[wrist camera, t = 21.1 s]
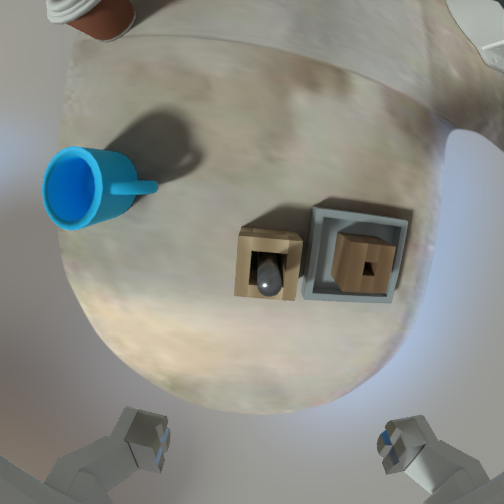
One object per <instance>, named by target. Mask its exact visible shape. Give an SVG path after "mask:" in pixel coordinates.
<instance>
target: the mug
mask: <svg viewBox="0 0 504 504" xmlns="http://www.w3.org/2000/svg"><path fill="white" fill-rule="evenodd" d="M157 190H158V183H157V182H156V181H149V180H138V179H137V173H136V170H135V167H134V165H133V163H132V162H131V161H130V160H129V158H128V157H126V156H125V155H123V154H121V153H120V152H114V151H106V150H99V149H91V148H83V147H74V146H71V147H68V148H65V149H62V150H61V151H60V152H59V153H57V154H56V155H55V156H54V157H53V159H52V160H51V161H50V163H49V164H48V166H47V169H46V171H45V174H44V177H43V185H42V195H43V203H44V206H45V208H46V211H47V213H48V215H49V217H50V218H51V219H52V221H53V222H54V223H56V224H57V225H58V226H59V227H60V228H63V229H66V230H77V229H81V228H84V227H87V226H90V225H93V224H96V223H99V222H102V221H105V220H108V219H112V218H115V217H117V216H119V215H121V214H123V213H125V212H126V211H127V209H128V208H129V207H130V206H131V205H132V203H133V201H134V199H135V197H136V194H152V193H155V192H156V191H157Z"/></svg>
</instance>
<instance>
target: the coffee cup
mask: <svg viewBox="0 0 504 504" xmlns="http://www.w3.org/2000/svg"><path fill="white" fill-rule="evenodd" d="M46 6H47V7H48V8H47V17H48V19H49V20H50V21H51V22H52V23H54V24H65V23H66V24H68V25H70V26H72V27H74V28H76V29H78V30H80V31H82V32H84V33H86V34H88V35H90V36H91V37H93V38H95V39H97V40H98V41H100V42H105V43H106V42H110V41H114V40H116V39H118V38H120V37H122V36H123V35H124V34H125V33H126V32H128V31H129V30H130V28H131V27H132V25H133V24H134V22H135V19H136V12H135V10H134V8H133V7H132V5H131V3H130V2H129V0H47V2H46Z"/></svg>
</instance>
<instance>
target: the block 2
mask: <svg viewBox="0 0 504 504" xmlns="http://www.w3.org/2000/svg"><path fill="white" fill-rule="evenodd" d="M395 249H396V247H395V246H394V245H392V244H390V243H388V242H386V241H384V240H383V239H381V238H379V237H376V236H368V235H360V234H351V233H342V232H337V237H336V244H335V251H334V257H333V263H332V269H331V276H332V278H333V279H334V280H335V282H336V283H337V285H338V286H339V287H340V289H341V290H342V291H344V292H362V293H383V294H386V291H387V287H388V283H389V278H390V274H391V269H392V264H393V260H394V254H395Z"/></svg>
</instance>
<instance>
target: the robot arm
mask: <svg viewBox="0 0 504 504" xmlns="http://www.w3.org/2000/svg"><path fill="white" fill-rule="evenodd" d="M446 1H447V5H448V8H449V10H450V12H451V14H452V16H453V18H454V19H455V21H456V23H457V24H458V25H459V27H460V28H461V30H462V31H463V32H464V34H465V35H466V36H467V37H468V38H469V39H470V41H471V42H472V43H473V44H474V45H475V47H476V48H477V50H478V52H479V53H480V55H481V57H482V59H483V60H484V62H485V63H486V64H487V65H488V66H490V67H492V68H495V69H497V70H499V71H501V72H503V73H504V0H446ZM167 424H168V419H167V416H164V415H160V414H156V413H152V412H147V411H143V410H140V409H136V408H132V407H129V406H127V407H126V408H125V409H124V410H123V412H122V413H121V415H120V417H119V419H118V421H117V423H116V425H115V427H114V429H113V431H112V433H111V435H110V436H104V437H102V438H100V439H98V440H96V441H94V442H92V443H90V444H88V445H86V446H84V447H82V448H80V449H78V450H76V451H73V452H71V453H69V454H67V455H65V456H62V457H60V458H58V459H57V461H56V463H55V465H54V466H53V468H52V470H51V471H50V473H49V475H48V476H47V478H46V480H45V482H44V483H43V482H41V481H40V480H38V479H36V478H35V477H33V476H31V475H30V474H28V473H27V472H25V471H24V470H22V469H21V468H19V467H18V466H16V465H15V464H13V463H12V462H10V461H9V460H8V459H6V458H5V457H3V456H2V455H1V454H0V504H114V502H113V501H112V500H111V499H110V497H109V496H108V495H107V492H108V491H110V490H111V489H113V488H114V487H116V486H117V485H118V484H120V483H121V482H122V481H124V480H125V479H127V478H128V477H129V476H131V475H132V474H133V473H135V472H136V471H137V470H138V468H139V469H143V470H147V471H152V472H156V473H161V471H162V468H163V465H164V461H165V459H164V455H163V454H164V453H166V452H167V451H168V448H169V444H170V429H169V428H168V427H167ZM385 429H386V430H385V431H384V432H383V433H381V434H380V436H379V438H378V441H377V450H378V453H379V455H381V456H382V457H383V458H384V459H383V462H382V464H383V466H384V469H385V472H386V474H392V473H397V472H401V471H405V473H406V474H407V475H409V476H410V477H411V478H412V479H413V480H415V481H416V482H417V483H418V484H419V485H421V486H422V487H423V488H424V489H425V490H427V491H428V492H429V493H430V494H432V495H431V496H430V497H429V498H428V499H426V500H425V501H424V503H423V504H504V472H503V473H501V474H499V475H498V476H496V477H495V478H493V479H492V480H490V479H489V477H488V476H487V474H486V472H485V470H484V469H483V467H482V465H481V464H480V462H479V460H477V459H475V458H473V457H471V456H469V455H467V454H465V453H463V452H462V451H460V450H458V449H456V448H454V447H452V446H451V445H449V444H447V443H445V442H443V441H442V440H440V441H438V439H437V438H436V436H435V434H434V433H433V431H432V429H431V427H430V426H429V424H428V422H427V421H426V419H425V417H424V416H423V415H418V416H413V417H407V418H401V419H396V420H391V421H389V422H388V423H387V424H386V426H385Z"/></svg>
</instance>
